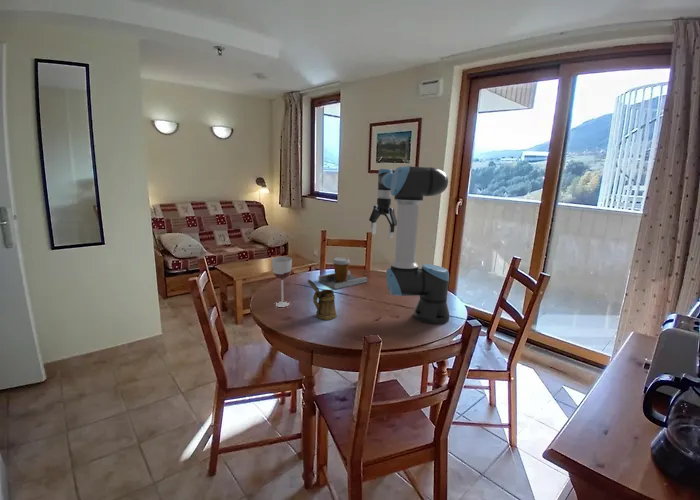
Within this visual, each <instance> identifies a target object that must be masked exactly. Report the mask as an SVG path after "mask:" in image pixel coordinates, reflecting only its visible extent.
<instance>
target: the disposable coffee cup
mask: <svg viewBox="0 0 700 500" xmlns="http://www.w3.org/2000/svg"><path fill="white" fill-rule="evenodd" d="M332 262H333V267H334V273H335V279H336V280H337V281H345V280H346V279H347V273H348V271H349V266H350V263H351V260H350V258H348V257H345V256H344V257H342V256H340V257H339V256H338V257H335V258H333V260H332Z"/></svg>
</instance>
